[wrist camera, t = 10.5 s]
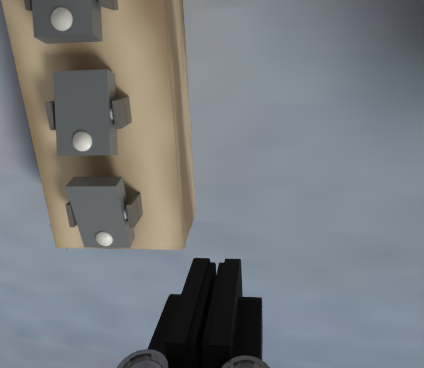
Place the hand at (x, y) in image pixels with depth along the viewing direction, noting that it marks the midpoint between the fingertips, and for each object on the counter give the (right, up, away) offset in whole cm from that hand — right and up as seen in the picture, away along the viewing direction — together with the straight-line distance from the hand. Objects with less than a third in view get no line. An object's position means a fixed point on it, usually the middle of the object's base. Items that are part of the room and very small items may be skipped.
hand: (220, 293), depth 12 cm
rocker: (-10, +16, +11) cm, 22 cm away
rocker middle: (-10, +9, +13) cm, 19 cm away
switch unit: (-9, +12, +23) cm, 27 cm away
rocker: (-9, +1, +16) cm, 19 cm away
